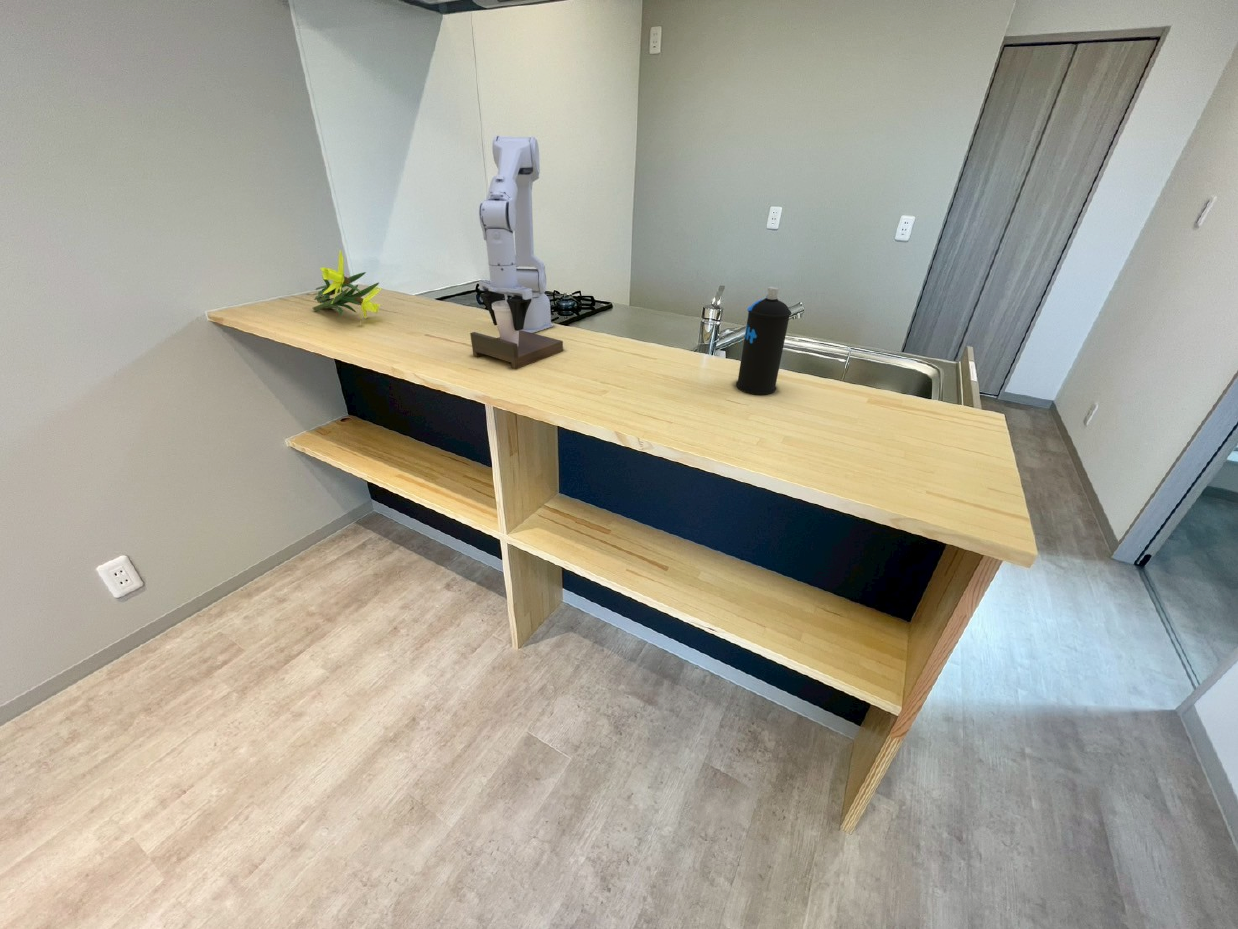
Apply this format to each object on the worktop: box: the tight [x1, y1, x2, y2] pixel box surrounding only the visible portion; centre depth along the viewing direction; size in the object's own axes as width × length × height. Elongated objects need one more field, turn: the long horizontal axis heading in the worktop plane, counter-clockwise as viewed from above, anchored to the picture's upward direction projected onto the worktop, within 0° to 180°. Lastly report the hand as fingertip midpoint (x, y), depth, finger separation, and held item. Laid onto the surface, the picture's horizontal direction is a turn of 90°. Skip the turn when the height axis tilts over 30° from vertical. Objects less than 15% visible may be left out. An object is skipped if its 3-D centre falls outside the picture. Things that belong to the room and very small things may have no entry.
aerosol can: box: [735, 286, 792, 396], centre depth 97 cm, size 8×8×20 cm
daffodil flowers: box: [311, 249, 383, 326], centre depth 136 cm, size 17×15×35 cm
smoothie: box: [492, 294, 519, 347], centre depth 111 cm, size 6×6×14 cm
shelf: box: [469, 330, 564, 370], centre depth 116 cm, size 16×14×6 cm
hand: (508, 327), depth 112 cm, fingers closed on smoothie, 6 cm apart
